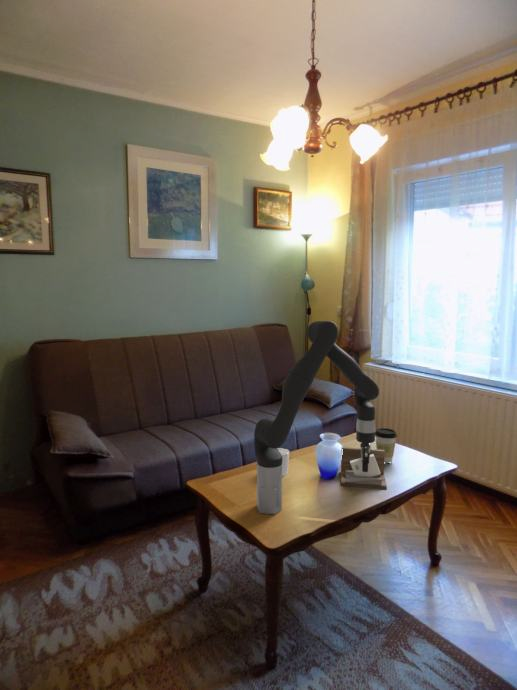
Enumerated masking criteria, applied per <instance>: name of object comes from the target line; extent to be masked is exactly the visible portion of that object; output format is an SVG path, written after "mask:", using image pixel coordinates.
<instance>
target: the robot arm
mask: <svg viewBox="0 0 517 690" xmlns="http://www.w3.org/2000/svg"><path fill="white" fill-rule="evenodd" d="M306 334H307V338H308V340H309V342H311V345H310V347H309V349H308V350H307V352H305V354H304V355H303V356H302V357H301V358H300V359H299V360H298V361H296V362H295V364H294V365H293V366H292V367H291V368H290V370H289V372H288V374H287V375H286V378H285V380H284V382H283V385H282V392H281V405H280V408H279V410H278V412H277V414H276V417H275V419H272V418H269V417H264V418H261V419H259V420H258V422H257V423H256V424H255V428H254V432H253V433H254V434H253V435H254V436H253V437H254V438H253V439H254V441H253V442H254V454H255V457H256V509H257V511H258V513H259V514H265V515H266V514H269V515H277V513H279V512H280V511H281V510H282V508H283V476H282V455H281V454H280V452H279V451H278V449H277V448H281V447H282V446H283V445H284V443H285V442H286V440H287V438H288V437H289V434H290V431H291V429H292V426H293V423H294V420H295V418H296V417H297V413H298V412H299V410H300V408H301V405H302V403H303V401H304V399H305V397H306V395H307V394H308V392H309V390H310V388H311V386H312V384H313V382H314V379H315V377H316V376H317V374H318V372H319V370H320V368H321V366H322V364H323V363H324V361H325V359H326V357H327V358H328V359H329V360H330V361H331V362H332V363H333V364H334V366H336V367H337V368H338V370H339V371H340V372H341V374H342V375H343V376H344V377H345V379H346V380H347V381H348V383H350V384H352V385H353V386H354V391H353V392H354V393H353V394H354V398H355V399H354V400H355V404H356V409H357V413H356V417H357V418H356V422H355V423H356V427H355V429H356V430H355V434H356V436H355V440H356V442H358V443H360V444H359V447H360V448H361V458H362V471H363V472H368V464H369V458H370V450H371V449H372V448H371V444H373V443H374V442H376V435H375V432H376V407H375V405H374V404H373V403H372V402H371V401H374V400H376V399H377V398H378V397H379V394H380V389H379V386H378V384H377V383H376V382H375V380H374V379H372V378H371V377H370V376H369V375H368V374H366V373H365V371H363V369H362V367H361V366H360V365H359V364H358V362H357V360H355V359H354V358H353V357H352V356H350V355H349V354H348V353H347V352H346V351H344V350H343V349H342V348H341V347H339V346H338V345H337V344H336V341H337V340H338V337H339V327H338V325H337V324H336V323H335V322H333V321H332V320H316V321H313V322H311V323H310V324H309V325H308V327H307V330H306Z"/></svg>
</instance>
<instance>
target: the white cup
mask: <svg viewBox="0 0 517 690" xmlns="http://www.w3.org/2000/svg"><path fill="white" fill-rule="evenodd" d="M277 449H278V451H279V452H280V454H281V455H282V477H286V476H287V475H288V474H289V464H290V462H289V461H290V450H289V449H287V448H282V447H279V448H277Z"/></svg>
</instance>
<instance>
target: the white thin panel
mask: <svg viewBox="0 0 517 690" xmlns="http://www.w3.org/2000/svg"><path fill="white" fill-rule="evenodd" d="M350 464H351V467H352V469H353V472H354V474H355V476H364V477H373V476H376V475H379V474H381V473H380V470H379V467H378V465H377V462H376V459H375V457H374V454H371V455H370V458H369V464H368V472H363V471H362V458H358V459H355V460H352V461H350Z"/></svg>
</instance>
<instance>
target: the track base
mask: <svg viewBox="0 0 517 690" xmlns="http://www.w3.org/2000/svg"><path fill="white" fill-rule="evenodd" d="M342 449H343V455H342V460H341V459H340V486H341V487H342V486H343V487H344V486H345V487H346V486H347V487H358V488H368V489H381V490H387V489H388V486H387V481H386V477H385V472H384V470H385V464H384V455H385V450H377V448H376V449H373V448H371V450H370V455H371V454H374V457H375V459H376V462H377V465H378V467H379V470H380V473H381V474H379V475H376V476H373V477H364V476H355V474H354V472H353V469H352V467H351V464H350V461H352V460H355V459H358V458H361V448H359V447H346V446H341V450H342Z"/></svg>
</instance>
